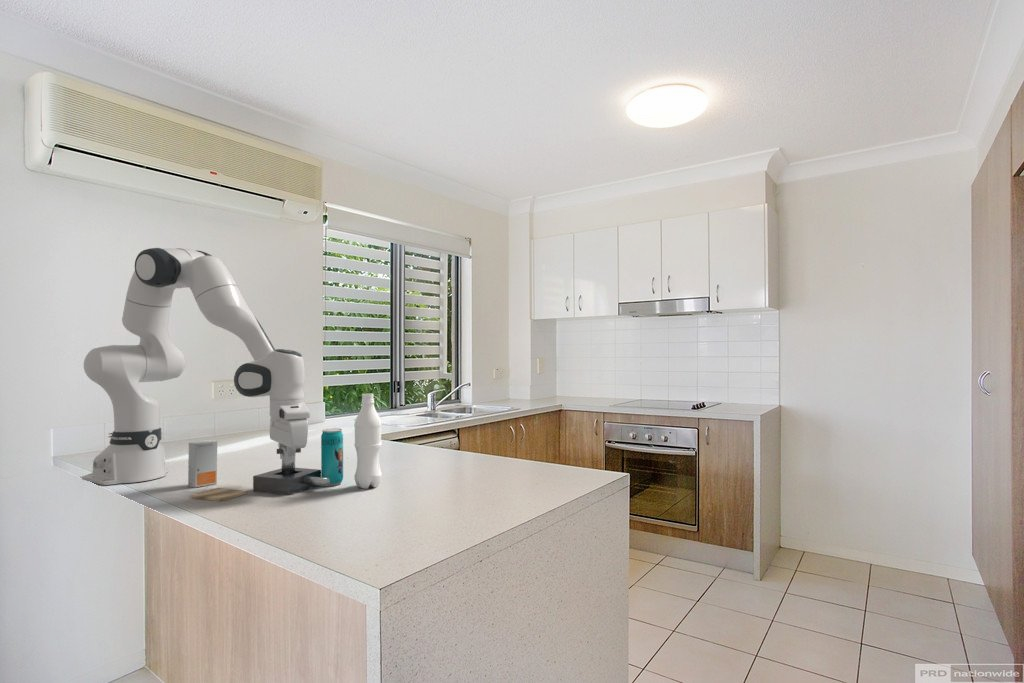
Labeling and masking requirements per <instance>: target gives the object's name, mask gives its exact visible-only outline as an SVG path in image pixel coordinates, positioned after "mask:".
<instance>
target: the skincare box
mask: <svg viewBox="0 0 1024 683" xmlns="http://www.w3.org/2000/svg"><path fill="white" fill-rule="evenodd" d="M187 464H188V465H187V466H188V467H187V468H188V470H187V472H188V473H187V474H188V476H187V478H188V480H187V482H188V483H187V484H188V485H187V486H188V487H191V488H195V489H196V488H200V487H201V488H203V487H207V486H213V485H217V483H218V441H217V440H214V439H209V440H208V439H206V440H200V441H192V442H188V463H187Z"/></svg>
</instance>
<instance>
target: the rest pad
mask: <svg viewBox="0 0 1024 683" xmlns="http://www.w3.org/2000/svg"><path fill="white" fill-rule="evenodd" d="M246 494H248V490H243V489H241V490H240V489H230V488H222V487H217V488H214V489H210V490H205V491H202V492H199V493H195V494H192V495H191V497H190V498H191V499H199V500H207V501H208V500H209V501H214V502H215V501H216V502H222V501H226V500H230V499H232V498H235V497H239V496H242V495H246Z"/></svg>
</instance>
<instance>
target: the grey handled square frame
mask: <svg viewBox="0 0 1024 683" xmlns="http://www.w3.org/2000/svg"><path fill="white" fill-rule="evenodd" d="M281 471H282V467H281V468H278V469H274V470H271V471H267V472H263V473H259V474H256V475H253V476H252V491H253V492H256V493H265V494H274V495H275V494H276V495H283V496H284V495H285V496H291V495H294V494H297V493H299V492H303V491H306V490H309V489H312V488H314V487H317V486H322V487H329V486H328V485H329V484H330V479H329V478H322V477H321V469H318V468H317V469H315V468H305V467H304V468H303V467H295V474H293V475H289V476H286V475H281Z"/></svg>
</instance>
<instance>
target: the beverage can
mask: <svg viewBox="0 0 1024 683" xmlns="http://www.w3.org/2000/svg"><path fill="white" fill-rule="evenodd" d="M342 430H343V429H342V428H336V427H335V428H326V429H322V430H321V431H322V433H321V435H320V442H321V443H320V445H321V446H320V449H321V452H320V455H321V458H320V459H321V460H320V463H321V464H320V465H321V468H320V470H321V477H322V478H329V479H330V484H329V485H328V486H327V487H336V486H340V485H341V484H342V482H343V479H344V434H343V432H342Z"/></svg>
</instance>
